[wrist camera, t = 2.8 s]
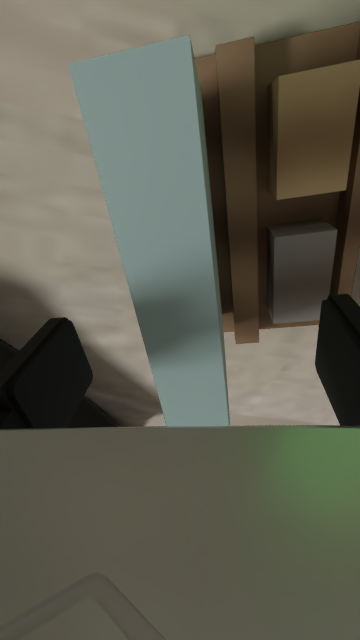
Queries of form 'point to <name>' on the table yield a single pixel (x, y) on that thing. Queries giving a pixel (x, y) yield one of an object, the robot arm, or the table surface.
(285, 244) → the offcut
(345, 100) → the offcut
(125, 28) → the table surface
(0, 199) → the table surface
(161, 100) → the panel
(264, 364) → the table surface
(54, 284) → the table surface
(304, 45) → the rack
